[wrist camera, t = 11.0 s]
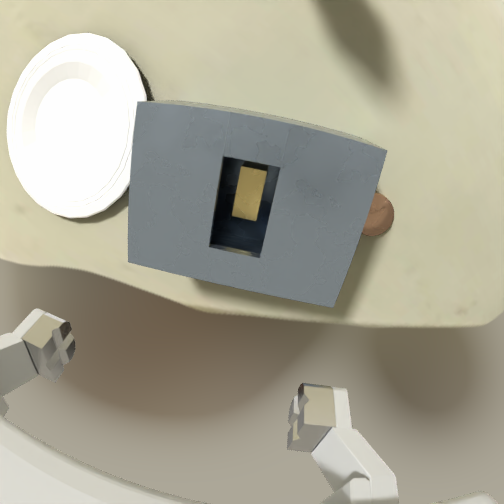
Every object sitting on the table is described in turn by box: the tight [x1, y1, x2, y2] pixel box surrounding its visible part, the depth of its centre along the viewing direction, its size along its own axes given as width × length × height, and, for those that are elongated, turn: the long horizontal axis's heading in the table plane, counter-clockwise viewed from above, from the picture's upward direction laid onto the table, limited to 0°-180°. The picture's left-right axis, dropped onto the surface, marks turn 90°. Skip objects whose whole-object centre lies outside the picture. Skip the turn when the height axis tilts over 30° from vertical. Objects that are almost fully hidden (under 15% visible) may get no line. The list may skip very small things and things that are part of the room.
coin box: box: [128, 101, 387, 308], centre depth 29 cm, size 20×15×10 cm
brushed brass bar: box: [232, 160, 269, 221], centre depth 31 cm, size 2×5×5 cm, turn 169°
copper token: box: [362, 192, 394, 236], centre depth 34 cm, size 5×5×1 cm
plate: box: [7, 33, 147, 218], centre depth 32 cm, size 25×25×2 cm
